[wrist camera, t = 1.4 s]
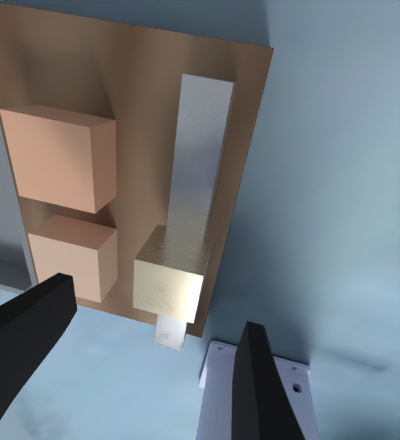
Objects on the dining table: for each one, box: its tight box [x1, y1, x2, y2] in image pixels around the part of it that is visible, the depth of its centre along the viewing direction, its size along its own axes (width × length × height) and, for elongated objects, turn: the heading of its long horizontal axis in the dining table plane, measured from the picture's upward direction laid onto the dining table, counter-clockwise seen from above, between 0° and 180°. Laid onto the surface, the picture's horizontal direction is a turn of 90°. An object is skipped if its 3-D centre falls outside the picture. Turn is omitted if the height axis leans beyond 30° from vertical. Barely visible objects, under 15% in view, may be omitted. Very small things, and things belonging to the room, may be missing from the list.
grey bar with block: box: [133, 74, 237, 351], centre depth 14 cm, size 3×17×6 cm, turn 171°
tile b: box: [28, 214, 118, 303], centre depth 17 cm, size 4×4×2 cm
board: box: [0, 3, 274, 338], centre depth 18 cm, size 14×20×2 cm
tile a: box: [0, 105, 117, 214], centre depth 14 cm, size 4×4×2 cm
